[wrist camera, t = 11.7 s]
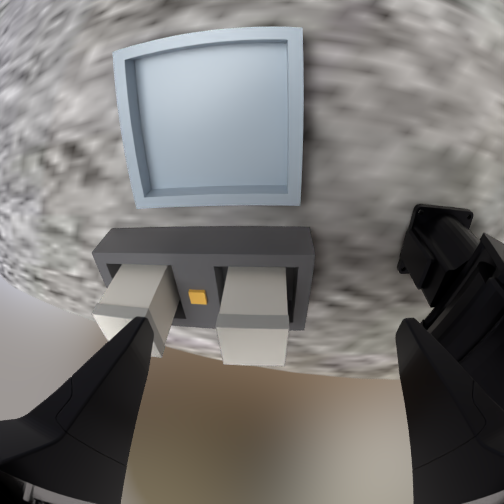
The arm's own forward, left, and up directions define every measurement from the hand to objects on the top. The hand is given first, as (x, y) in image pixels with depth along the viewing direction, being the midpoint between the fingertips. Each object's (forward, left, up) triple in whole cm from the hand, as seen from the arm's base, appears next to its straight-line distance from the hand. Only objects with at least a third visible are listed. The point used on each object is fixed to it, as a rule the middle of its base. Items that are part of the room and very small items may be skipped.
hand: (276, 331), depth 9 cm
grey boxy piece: (+6, +7, -12) cm, 15 cm away
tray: (+4, -5, -12) cm, 14 cm away
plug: (+10, +7, -11) cm, 16 cm away
